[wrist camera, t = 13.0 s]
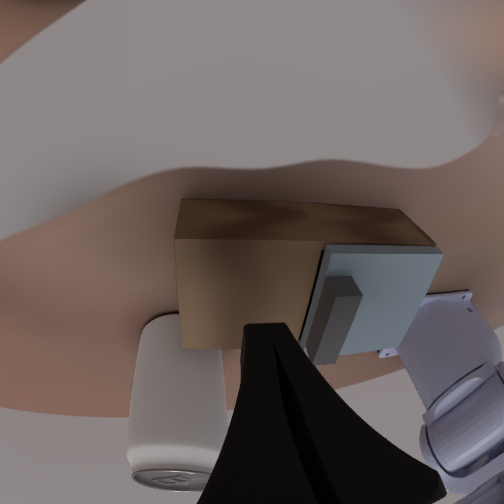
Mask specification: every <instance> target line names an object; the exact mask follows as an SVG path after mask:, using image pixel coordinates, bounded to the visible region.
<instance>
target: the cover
mask: <svg viewBox="0 0 504 504" xmlns="http://www.w3.org/2000/svg"><path fill="white" fill-rule="evenodd" d="M443 255H444V254H443V253H442V252H441V251H440V250H439V249H438V248H437V247H428V246H384V245H333V244H326V247H325V252H324V256H323V260H322V264H321V268H320V272H319V276H318V279H317V283H316V287H315V291H314V295H313V298H312V302H311V306H310V309H309V313H308V317H307V320H306V324H305V327H304V331H303V334H302V337H301V341H300V346H301V347H302V349H303V350H304V352H305V353H306V355H307V356H308V357H309V359H310V360H311V362H312V363H313V364H314V366H316V365H325V364H333V363H335V362H336V360H337V358H338V356H339V355H347V354H355V353H362V352H369V351H376V350H383V349H389V348H395V347H398V346H399V344H400V343H401V341H402V339H403V337H404V336H405V334H406V332H407V330H408V328H409V327H410V325H411V323H412V321H413V319H414V317H415V315H416V313H417V311H418V309H419V307H420V305H421V303H422V301H423V299H424V297H425V295H426V293H427V291H428V289H429V287H430V285H431V283H432V281H433V278H434V276H435V274H436V272H437V269H438V267H439V265H440V262H441V260H442V258H443Z"/></svg>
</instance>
